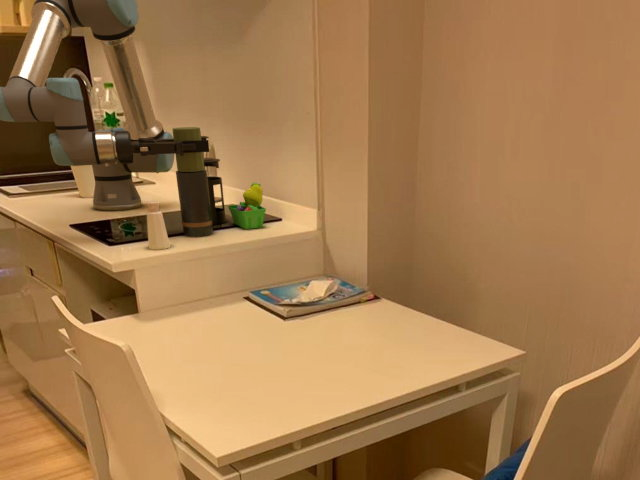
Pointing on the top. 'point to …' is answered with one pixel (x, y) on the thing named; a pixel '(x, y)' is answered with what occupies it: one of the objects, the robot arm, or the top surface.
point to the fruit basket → (249, 209)
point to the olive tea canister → (189, 160)
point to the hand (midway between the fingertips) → (207, 144)
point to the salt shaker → (156, 227)
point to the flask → (194, 203)
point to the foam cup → (84, 180)
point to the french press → (216, 213)
